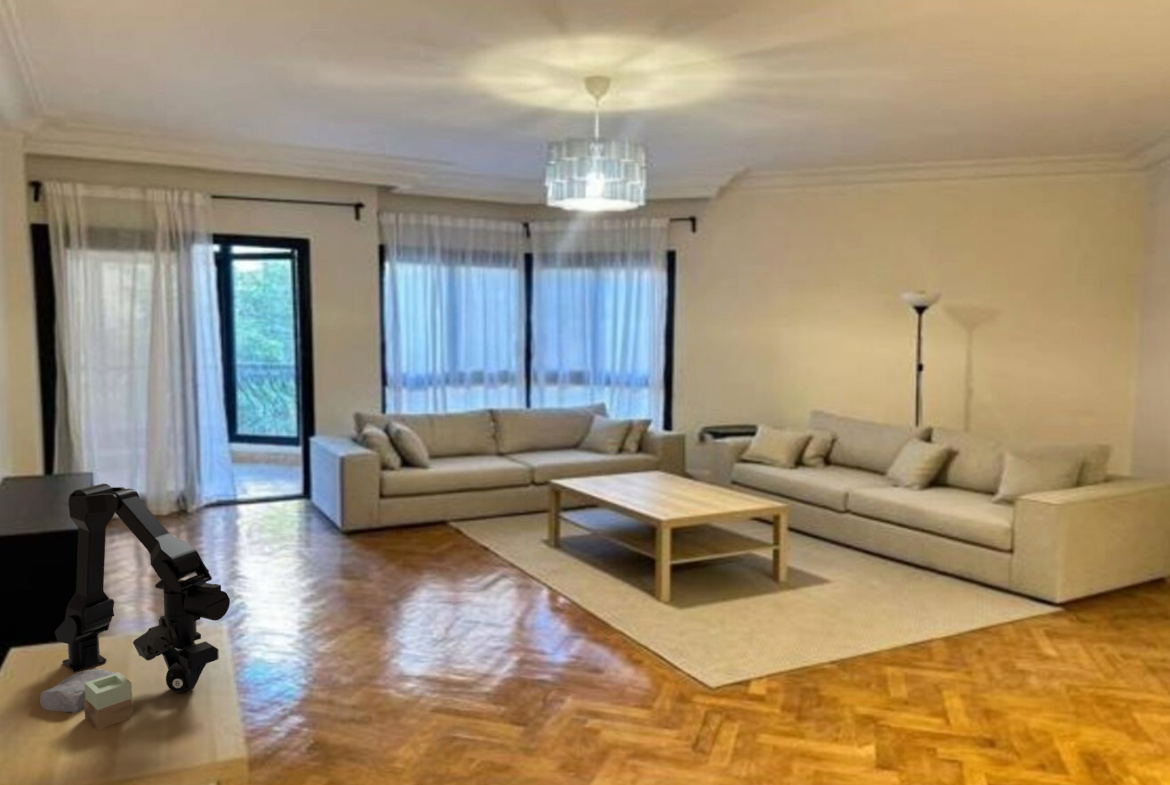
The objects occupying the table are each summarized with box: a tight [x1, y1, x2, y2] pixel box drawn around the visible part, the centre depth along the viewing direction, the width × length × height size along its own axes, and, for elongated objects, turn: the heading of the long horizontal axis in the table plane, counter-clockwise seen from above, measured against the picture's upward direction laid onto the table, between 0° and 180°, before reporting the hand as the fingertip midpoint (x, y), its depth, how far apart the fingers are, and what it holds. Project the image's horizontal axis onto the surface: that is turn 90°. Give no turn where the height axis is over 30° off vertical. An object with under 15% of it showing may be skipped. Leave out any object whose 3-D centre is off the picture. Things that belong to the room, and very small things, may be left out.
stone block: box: [39, 668, 116, 714], centre depth 164 cm, size 12×5×10 cm
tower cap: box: [85, 671, 133, 710], centre depth 156 cm, size 6×6×3 cm
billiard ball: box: [165, 663, 189, 693], centre depth 167 cm, size 6×6×6 cm
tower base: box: [84, 698, 133, 731], centre depth 157 cm, size 6×6×4 cm
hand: (182, 684), depth 167 cm, fingers closed on billiard ball, 6 cm apart
